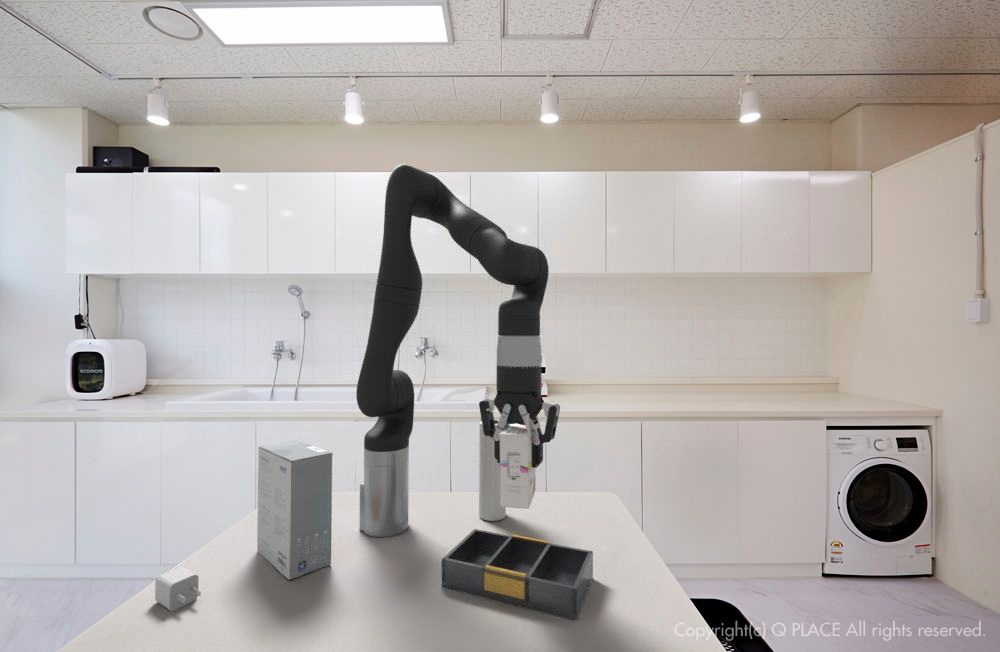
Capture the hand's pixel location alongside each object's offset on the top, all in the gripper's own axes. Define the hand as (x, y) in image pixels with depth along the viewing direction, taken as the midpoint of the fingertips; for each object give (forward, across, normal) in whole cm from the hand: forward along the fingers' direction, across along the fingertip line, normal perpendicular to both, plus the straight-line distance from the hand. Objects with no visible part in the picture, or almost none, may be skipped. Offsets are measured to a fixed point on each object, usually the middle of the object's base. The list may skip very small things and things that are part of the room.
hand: (518, 463), depth 75 cm
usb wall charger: (+20, -45, -26) cm, 56 cm away
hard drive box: (+20, -41, -8) cm, 46 cm away
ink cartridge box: (+6, 0, 0) cm, 6 cm away
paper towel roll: (+20, -15, +24) cm, 34 cm away
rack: (+20, 0, 0) cm, 20 cm away
